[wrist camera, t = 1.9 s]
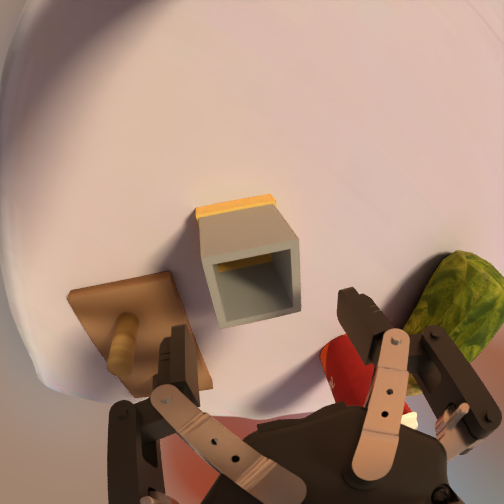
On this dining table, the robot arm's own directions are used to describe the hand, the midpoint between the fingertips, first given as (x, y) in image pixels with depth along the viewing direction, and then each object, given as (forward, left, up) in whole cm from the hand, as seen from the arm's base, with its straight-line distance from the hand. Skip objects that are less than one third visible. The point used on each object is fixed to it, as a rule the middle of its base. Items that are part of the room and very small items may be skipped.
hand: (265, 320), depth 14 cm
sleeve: (0, 0, -9) cm, 9 cm away
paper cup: (+18, +10, -10) cm, 22 cm away
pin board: (+10, -11, -9) cm, 17 cm away
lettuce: (+15, +22, -10) cm, 28 cm away
